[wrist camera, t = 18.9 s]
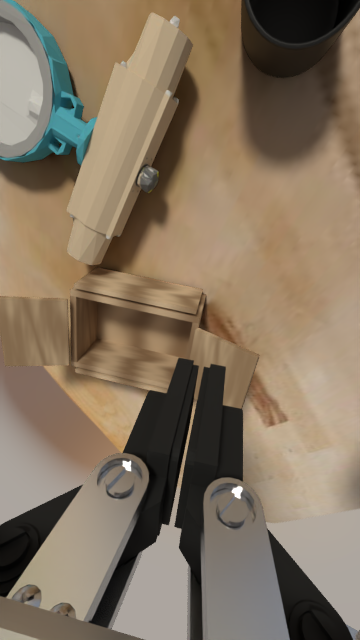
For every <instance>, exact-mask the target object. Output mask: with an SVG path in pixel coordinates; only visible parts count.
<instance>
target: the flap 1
mask: <svg viewBox="0 0 360 640" xmlns="http://www.w3.org/2000/svg"><path fill="white" fill-rule="evenodd" d="M0 335H1V342H2V349H3V355H4V361H5V366H55V365H69V330H68V299H58V298H33V297H8V296H0Z"/></svg>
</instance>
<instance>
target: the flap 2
mask: <svg viewBox="0 0 360 640" xmlns="http://www.w3.org/2000/svg"><path fill="white" fill-rule="evenodd" d="M259 356H260V355H259V354H256V353H254V352H252V351H250V350H247V349H245V348H243V347H241V346H238V345H236V344H234V343H232V342H229V341H227V340H225V339H223V338H220V337H218V336H216V335H214V334H211V333H209V332H207V331H205V330H202V329H200V328H197V329H196V330H195V334H194V339H193V344H192V349H191V354H190V359H189V360H194V364H193V365H198V366H199V370H198V376H197V382H196V388H195V394H194V399H195V400H197V399H198V394H199V389H200V384H201V379H202V374H203V369H204V367H209V368H210V364H215V365H220V366H225V367H226V373H225V385H224V396H223V405H225V406H230V407H235V408H240V409H242V407H243V404H244V401H245V398H246V395H247V392H248V389H249V386H250V383H251V380H252V377H253V374H254V371H255V368H256V365H257V362H258V359H259Z"/></svg>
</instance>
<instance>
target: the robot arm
mask: <svg viewBox="0 0 360 640" xmlns="http://www.w3.org/2000/svg"><path fill="white" fill-rule="evenodd" d="M193 364H194V360H189V359H184V358H178V361H177V364H176V367H175V370H174V373H173V376H172V379H171V382H170V385H169V387H168V390H167V393H163V392H158V391H153V390H150V391H149V392H148V394H147V396H146V399H145V401H144V403H143V406H142V408H141V411H140V413H139V415H138V418H137V420H136V422H135V425H134V427H133V430H132V432H131V434H130V437H129V439H128V441H127V444H126V446H125V449H124V451H123V453H117V454H114V455H111V456H108V457H106V458H105V459H103V460H102V461H100V463H99V464H98V465H97V466H96V467H95V469H94V470H93V471H92V473H91V474H90V476H89V477H88V479H87V480H86V481H85V483H84V484H83V485H81V486H79V487H77V488H75V489H73V490H71V491H69V492H67V493H65V494H63V495H60V496H58V497H56V498H54V499H52V500H50V501H48V502H46V503H44V504H42V505H40V506H38V507H36V508H34V509H32V510H30V511H27V512H25V513H23V514H21V515H19V516H17V517H15V518H13V519H11V520H9V521H7V522H5V523H3V524H2V525H0V640H143V639H140V638H137V637H134V636H131V635H127V634H124V633H120V632H117V631H114V630H111V629H112V627H113V624H114V622H115V619H116V617H117V614H118V612H119V610H120V607H121V605H122V602H123V600H124V597H125V595H126V592H127V590H128V587H129V585H130V582H131V580H132V578H133V575H134V572H135V570H136V568H137V565H138V563H139V560H140V558H141V554H142V551H143V550H144V549H146V548H147V547H149V546H150V545H152V544H153V543H154V542H156V539H157V535H158V536H159V534H160V529H161V525H162V524H166V525H169V522H170V517H171V512H172V507H173V503H174V498H175V493H176V488H177V483H178V478H179V474H180V469H181V464H182V459H183V454H184V449H185V445H186V440H187V435H188V430H189V425H190V419H191V413H192V407H193V400H194V394H195V388H196V382H197V376H198V370H199V366H198V365H193ZM225 373H226V367H225V366H220V365H215V364H210V368H209V367H204V369H203V374H202V379H201V384H200V389H199V394H198V399H197V404H196V409H195V414H194V419H193V425H192V430H191V435H190V440H189V445H188V450H187V455H186V461H185V467H184V473H183V479H182V485H181V491H180V497H179V504H178V509H177V515H176V521H175V527H177V528H181V529H182V532H181V537H180V544H179V549H180V551H181V552H182V554H183V556H184V557H185V559H186V561H187V562H188V564H189V566H188V623H187V626H188V627H187V640H360V630H359V631H357V630H355V629H353V628H351V627H350V626H348V625H346V624H345V623H344V622H343V620H342V618H341V617H340V615H339V614H338V613H337V612H336V610H335V609H334V608H333V607H332V606H331V604H330V603H329V602H328V601H327V599H326V598H325V597H324V596H323V595H322V594H321V592H320V591H319V590H318V589H317V587H316V586H315V585H314V584H313V583H312V581H311V580H310V579H309V578H308V577H307V575H306V574H305V573H304V572H303V571H302V569H301V568H300V567H299V566H298V565H297V563H296V562H295V561H294V560H293V559H292V558H291V556H290V555H289V554H288V553H287V552H286V550H285V549H284V548H283V547H282V546H281V544H280V543H279V542H278V541H277V540H276V538H275V537H274V536H273V535H272V534H271V532H270V531H269V530H268V529H267V526H266V521H265V516H264V511H263V507H262V504H261V501H260V499H259V497H258V496H257V494H256V493H255V491H254V490H253V489H252V488H251V487H250V486H248V485H247V484H246V483H244V482H243V410H242V409H240V408H235V407H230V406H225V405H223V396H224V385H225Z"/></svg>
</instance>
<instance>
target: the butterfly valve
mask: <svg viewBox="0 0 360 640" xmlns="http://www.w3.org/2000/svg"><path fill="white" fill-rule="evenodd" d="M179 20H180V19H178V18H177V17H175V16H174V17H173V18H172V19H171V20H170V22H168V21H167V20H166V19H164V18H162V17H160V16H158V15H157V14H155V13H151V14H150V15H149V17H148V20H147V22H146V25H145V27H144V29H143V32H142V34H141V37H140V39H139V42H138V44H137V47H136V49H135V52H134V53H133V55H132V56H131V57H130V59H129V60H128V62H127V63H125V62H123V61H122V62H121V64H118V63H117V62H116V63H115V66H114V69H113V72H112V75H111V78H110V81H109V84H108V87H107V90H106V93H105V96H104V99H103V102H102V105H101V108H100V111H99V114H98V117H95V118H92V119H91V120H90V121H89V122H88V123H85V122H84V121H82V120H81V117H82V112H83V108H84V106H83V104H82V102H81V100H80V99H79V98H77V97H75V96H74V95H73V90H72V85H71V81H70V76H69V72H68V67H67V64H66V62H65V60H64V58H63V55H62V53H61V51H60V49H59V47H58V45H57V43H56V41H55V39H54V37H53V36H52V35H51V34H50V32H49V31H48V30H47V29H46V28H45V27H44V26H43V25H42V24H41V23H40V22H39V21H38V20H37V19H36V18H35V17H34V16H33V15H32V14H31V13H29V12H28V11H27V10H25V9H24V8H23V7H22V6H20V5H19V4H18V3H16V2H15V1H13V0H0V159H3V160H5V161H14V162H23V163H24V162H30V161H35V160H41V159H43V158H45V157H46V156H48V155H49V154H51V153H52V152H54V153H55V154H57V155H69V154H70V151H71V149H72V146H73V147H75V148H77V150H76V155H77V162H78V164H79V165H81V168H80V171H79V174H78V177H77V180H76V183H75V186H74V189H73V192H72V195H71V198H70V201H69V204H68V208H67V212H68V213H70V217H72V218H73V227H72V231H71V235H70V239H69V243H68V248H67V252H68V253H69V254H70V255H71V256H72V257H74V258H75V259H76V260H78V261H80V262H83V263H86V264H89V265H97V264H101V262H102V259H103V257H104V255H105V253H106V251H107V249H108V247H109V244H110V242H111V240H112V238H113V236H117V237H120V235H121V234H122V231H123V229H124V227H125V224H126V222H127V220H128V218H129V215H130V213H131V211H132V208H133V206H134V204H135V202H136V199H137V197H138V195H139V193H140V190H141V189H142V190H144V191H145V192H147V193H150V192H151V191H152V190H153V189H154V188H155V186H156V185H157V183H158V179H159V171H157V170H155V169H154V168H152V167H151V165H152V163H153V161H154V158H155V156H156V154H157V152H158V149H159V147H160V145H161V142H162V140H163V138H164V136H165V133H166V131H167V129H168V126H169V124H170V122H171V120H172V117H173V115H174V113H175V111H176V108H177V106H178V103H179V99H177V98H176V97H173V96H174V94H175V91H176V89H177V86H178V83H179V81H180V78H181V75H182V73H183V70H184V68H185V65H186V62H187V60H188V57H189V55H190V52H191V49H192V47H193V44H192V43H191V41H190V40H189V38H188V37H187V36H186V35H185V34H184V33H183V32H182V31H180V30H179V29H178V25H179ZM72 104H73V106H74V108H73V109H71V107H72ZM60 143H61V144H62V145H61V147H59V146H58V145H59V144H60Z"/></svg>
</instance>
